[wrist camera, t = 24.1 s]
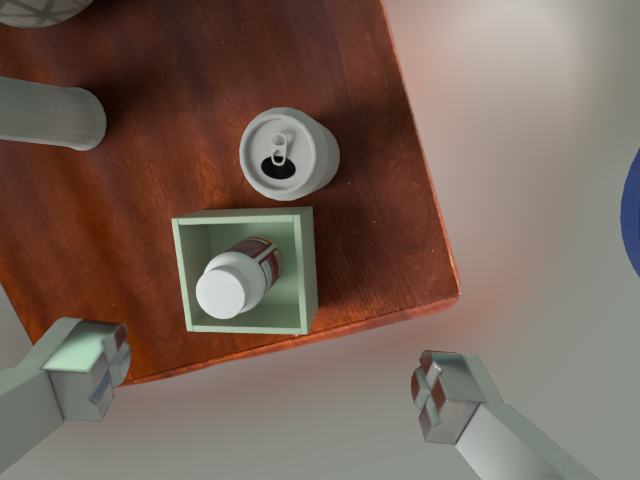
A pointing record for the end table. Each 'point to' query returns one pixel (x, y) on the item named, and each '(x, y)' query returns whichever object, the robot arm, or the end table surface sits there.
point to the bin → (226, 231)
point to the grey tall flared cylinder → (50, 114)
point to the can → (288, 154)
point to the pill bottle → (239, 277)
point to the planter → (39, 12)
